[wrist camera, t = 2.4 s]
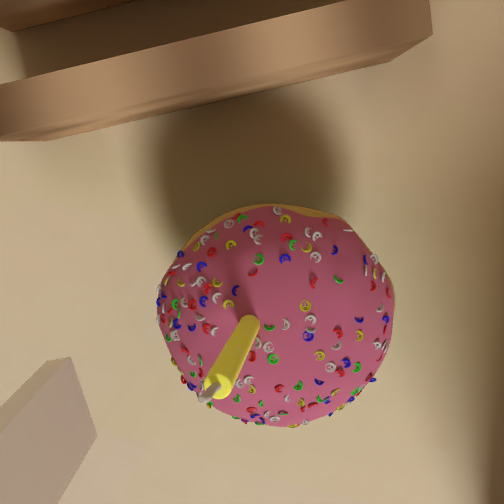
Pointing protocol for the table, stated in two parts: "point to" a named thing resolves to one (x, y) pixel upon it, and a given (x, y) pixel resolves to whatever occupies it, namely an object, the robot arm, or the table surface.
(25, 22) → the rail
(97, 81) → the brown flat block
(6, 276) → the table surface
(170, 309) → the cupcake
